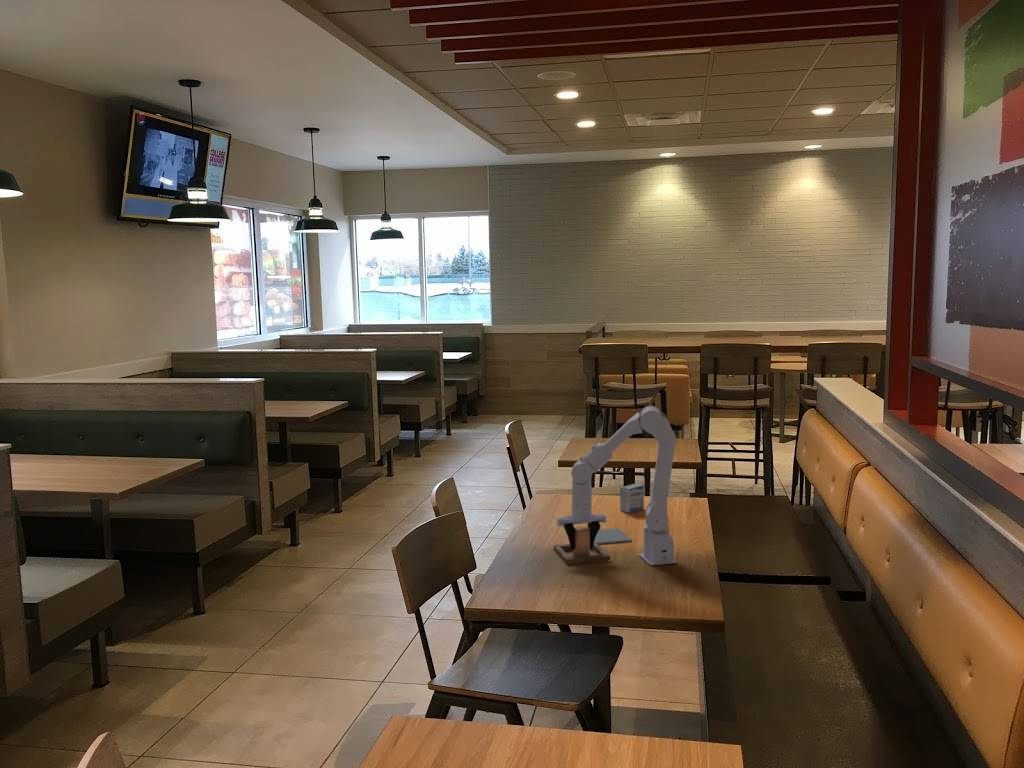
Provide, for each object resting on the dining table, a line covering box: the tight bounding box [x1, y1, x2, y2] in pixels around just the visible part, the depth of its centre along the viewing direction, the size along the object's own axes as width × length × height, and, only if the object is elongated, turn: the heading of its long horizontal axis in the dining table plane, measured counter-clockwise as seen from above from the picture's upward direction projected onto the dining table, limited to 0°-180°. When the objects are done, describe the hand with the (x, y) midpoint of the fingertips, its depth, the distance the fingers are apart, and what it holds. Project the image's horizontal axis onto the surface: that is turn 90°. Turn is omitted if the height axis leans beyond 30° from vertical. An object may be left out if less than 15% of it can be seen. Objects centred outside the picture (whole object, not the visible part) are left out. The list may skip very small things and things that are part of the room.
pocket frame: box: [553, 542, 611, 566], centre depth 239 cm, size 13×13×2 cm
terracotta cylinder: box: [572, 526, 591, 557], centre depth 239 cm, size 5×5×8 cm
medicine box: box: [619, 483, 645, 514], centre depth 285 cm, size 8×4×9 cm, turn 131°
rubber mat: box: [594, 527, 633, 545], centre depth 256 cm, size 12×12×1 cm
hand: (581, 547), depth 239 cm, fingers closed on terracotta cylinder, 5 cm apart
